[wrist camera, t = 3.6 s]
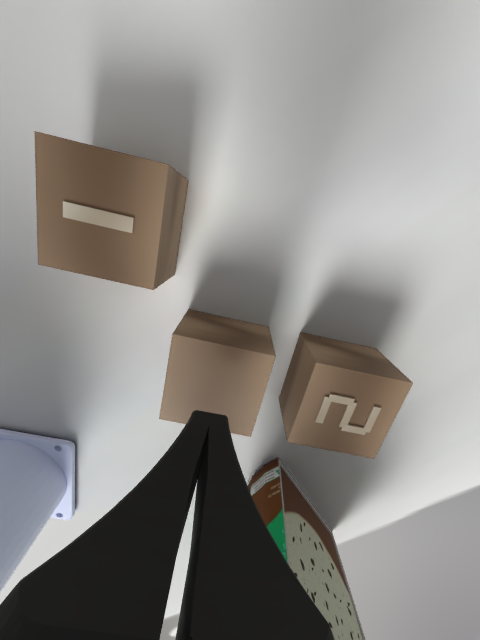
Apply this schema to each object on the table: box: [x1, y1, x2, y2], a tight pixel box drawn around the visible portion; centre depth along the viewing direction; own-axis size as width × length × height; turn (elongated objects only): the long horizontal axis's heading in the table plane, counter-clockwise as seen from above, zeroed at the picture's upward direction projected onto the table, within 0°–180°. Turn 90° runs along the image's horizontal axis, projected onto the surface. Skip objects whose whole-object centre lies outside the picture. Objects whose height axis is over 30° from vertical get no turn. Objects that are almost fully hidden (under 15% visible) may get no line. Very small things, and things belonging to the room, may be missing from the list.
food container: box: [248, 458, 365, 640], centre depth 17 cm, size 12×6×10 cm, turn 32°
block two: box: [279, 332, 413, 459], centre depth 16 cm, size 5×5×4 cm
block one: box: [35, 131, 188, 290], centre depth 13 cm, size 5×5×4 cm
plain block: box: [159, 309, 276, 437], centre depth 15 cm, size 5×5×4 cm
